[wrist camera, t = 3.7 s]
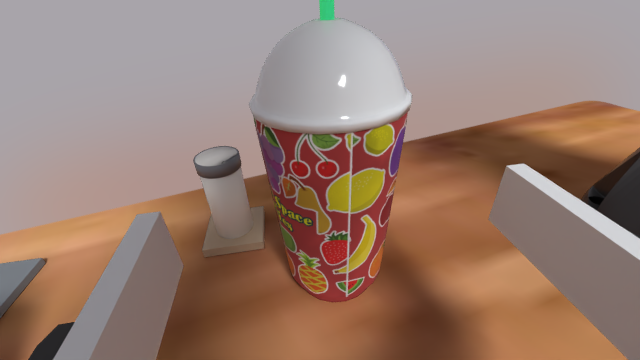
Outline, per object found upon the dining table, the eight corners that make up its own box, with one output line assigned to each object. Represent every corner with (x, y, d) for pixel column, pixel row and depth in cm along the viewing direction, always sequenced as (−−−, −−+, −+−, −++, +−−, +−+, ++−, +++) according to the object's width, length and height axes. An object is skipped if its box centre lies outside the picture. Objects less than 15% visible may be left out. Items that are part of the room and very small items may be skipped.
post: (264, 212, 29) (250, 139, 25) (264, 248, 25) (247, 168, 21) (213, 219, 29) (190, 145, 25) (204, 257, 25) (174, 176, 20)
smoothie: (271, 249, 25) (214, -44, 14) (359, 224, 27) (367, -47, 17) (298, 340, 18) (232, -80, 8) (412, 296, 21) (485, -78, 10)
